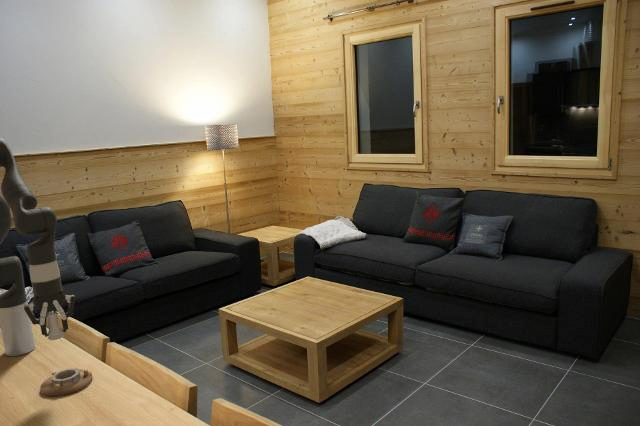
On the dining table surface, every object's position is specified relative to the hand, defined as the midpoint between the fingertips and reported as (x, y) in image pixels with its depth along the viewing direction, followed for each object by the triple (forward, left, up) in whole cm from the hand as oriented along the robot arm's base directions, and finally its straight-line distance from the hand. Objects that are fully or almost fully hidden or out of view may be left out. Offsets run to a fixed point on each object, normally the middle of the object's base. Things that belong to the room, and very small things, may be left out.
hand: (55, 333), depth 158 cm
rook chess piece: (0, 0, -1) cm, 1 cm away
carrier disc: (+1, +1, -16) cm, 16 cm away
